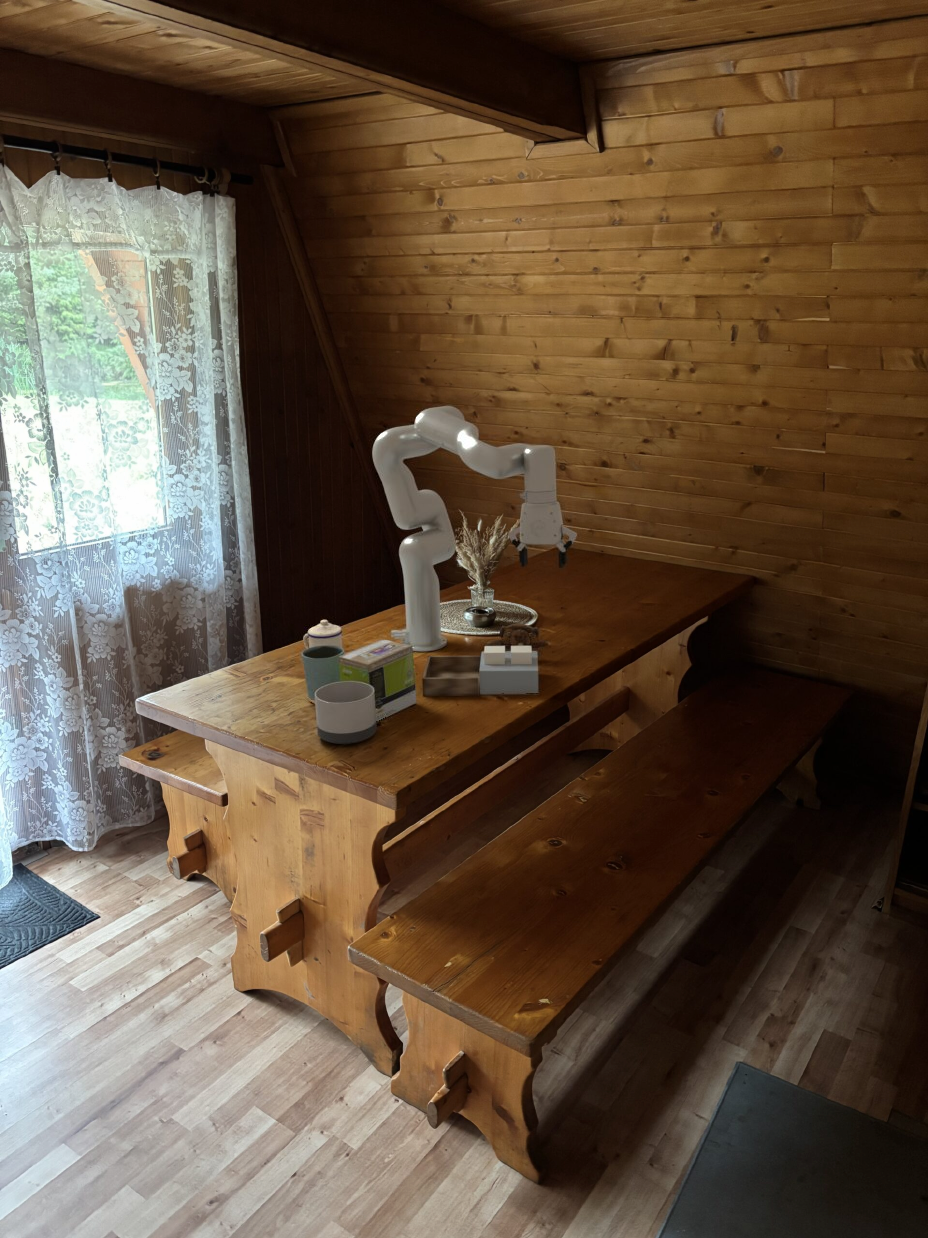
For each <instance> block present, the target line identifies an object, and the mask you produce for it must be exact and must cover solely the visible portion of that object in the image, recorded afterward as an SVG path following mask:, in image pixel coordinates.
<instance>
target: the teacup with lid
mask: <svg viewBox="0 0 928 1238" xmlns="http://www.w3.org/2000/svg"><path fill="white" fill-rule="evenodd" d="M342 633H343V630H342V627H341V626H340V625H336V624H332V623H330V622H329V620H327V619H322V620H320V623H318V624H317V625H315V626H312V627H311V628H309V629H308V631H307V633H305V634H304V635H303V638H302V639H303V645H304V646H305V649H308V648H311V647H315V646H322V645H333V646H339V647H341V648H343V636H342Z"/></svg>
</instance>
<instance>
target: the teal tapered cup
mask: <svg viewBox="0 0 928 1238" xmlns="http://www.w3.org/2000/svg"><path fill="white" fill-rule="evenodd" d="M344 654H345V649H344V648H343V647H342V648H341V647H339V646H333V645H322V646H315V647H311V648H308V649H307V648H305V649H304V650H302V652H301V661H302V665H303V670H304V677H305V685H306V691H307V698H308V697H309V698H310V699H311V700H314V701H315V692H316V691H317V690H318V689H319V688H321V687H323V686H325V685H328V684H331V683H336V682H341V680H340V669H339V656H342V655H344Z"/></svg>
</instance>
